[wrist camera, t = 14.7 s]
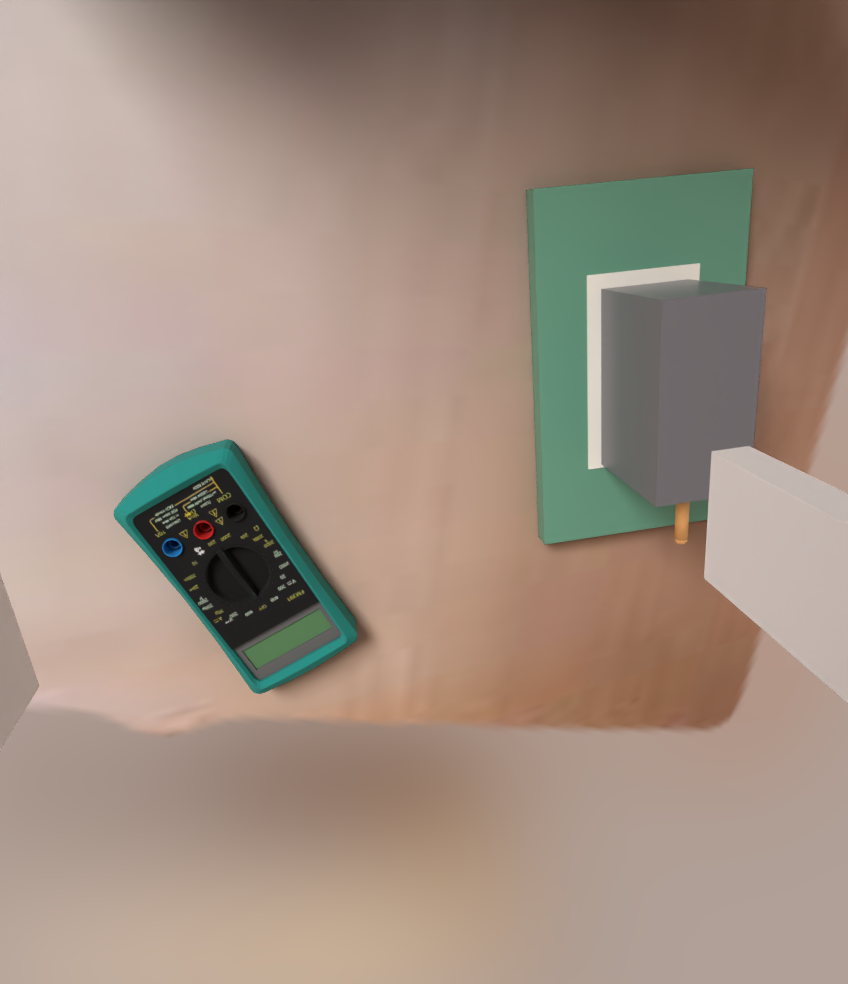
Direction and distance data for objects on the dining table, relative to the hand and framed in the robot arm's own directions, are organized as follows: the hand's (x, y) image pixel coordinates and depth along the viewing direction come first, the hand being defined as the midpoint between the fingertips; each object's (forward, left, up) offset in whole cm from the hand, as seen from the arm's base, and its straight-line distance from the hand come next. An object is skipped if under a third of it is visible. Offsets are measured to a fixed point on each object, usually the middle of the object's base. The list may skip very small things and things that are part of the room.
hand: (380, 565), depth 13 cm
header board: (+3, +17, -27) cm, 32 cm away
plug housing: (+5, +17, -25) cm, 31 cm away
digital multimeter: (+12, -7, -27) cm, 31 cm away
